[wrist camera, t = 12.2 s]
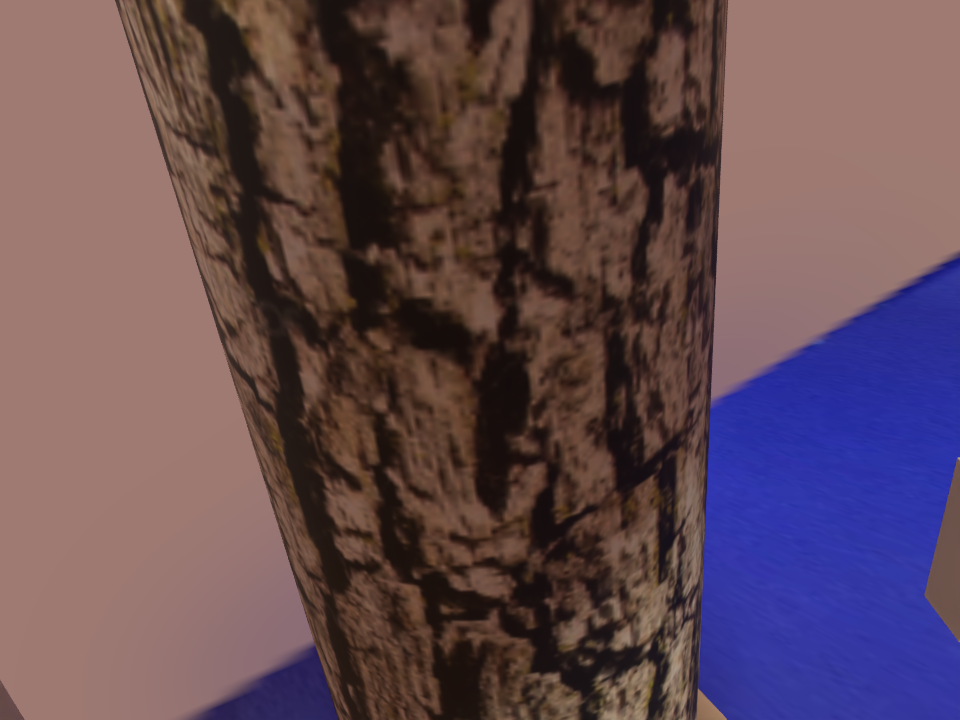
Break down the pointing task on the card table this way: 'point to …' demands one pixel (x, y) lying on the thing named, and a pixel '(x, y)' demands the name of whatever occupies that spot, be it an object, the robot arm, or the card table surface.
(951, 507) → the robot arm
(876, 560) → the card table surface
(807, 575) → the card table surface
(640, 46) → the paper tube
